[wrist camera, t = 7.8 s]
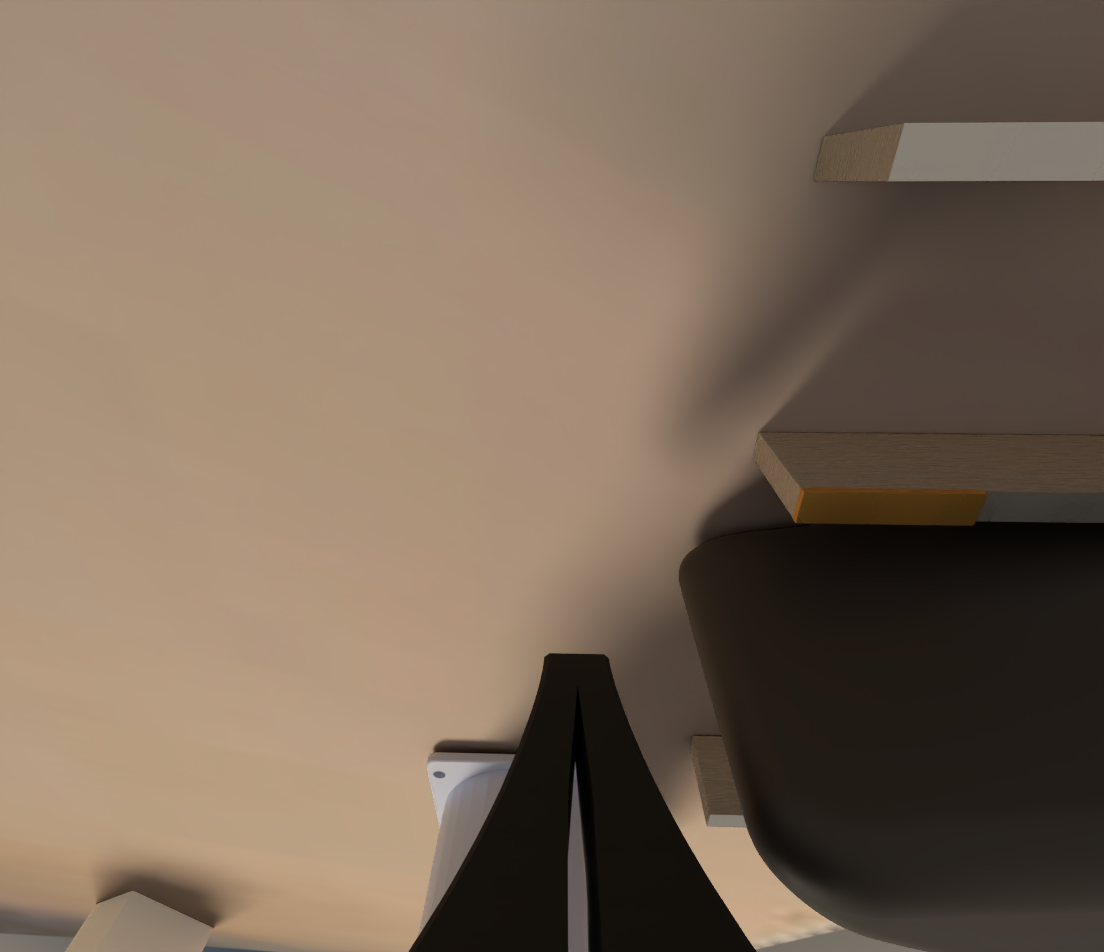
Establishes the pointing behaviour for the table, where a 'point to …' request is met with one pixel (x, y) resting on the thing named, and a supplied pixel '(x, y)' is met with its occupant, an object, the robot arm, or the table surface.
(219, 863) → the table surface
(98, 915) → the white wedge bracket
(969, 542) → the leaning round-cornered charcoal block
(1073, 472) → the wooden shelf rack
